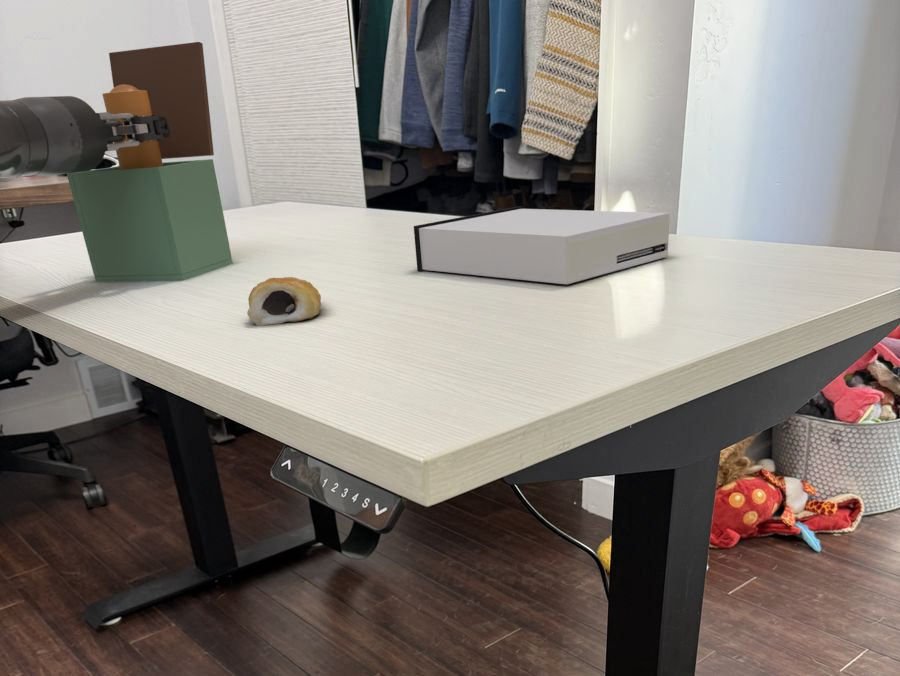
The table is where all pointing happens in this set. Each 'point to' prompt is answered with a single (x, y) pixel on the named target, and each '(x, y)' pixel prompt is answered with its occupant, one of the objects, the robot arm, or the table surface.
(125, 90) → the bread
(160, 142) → the bin lid
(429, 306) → the table surface
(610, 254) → the disc drive
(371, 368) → the table surface
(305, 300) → the pastry
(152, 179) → the bin
